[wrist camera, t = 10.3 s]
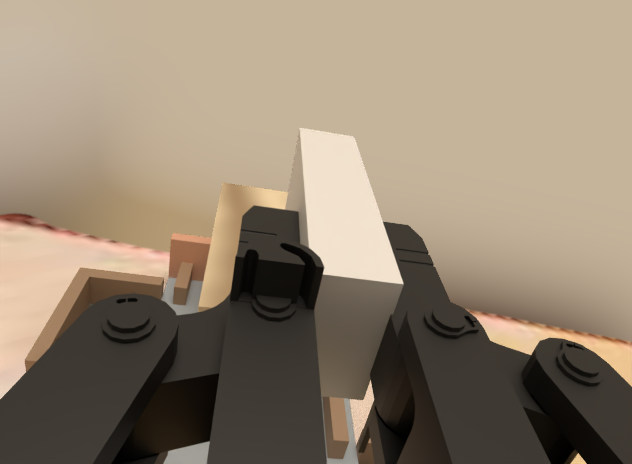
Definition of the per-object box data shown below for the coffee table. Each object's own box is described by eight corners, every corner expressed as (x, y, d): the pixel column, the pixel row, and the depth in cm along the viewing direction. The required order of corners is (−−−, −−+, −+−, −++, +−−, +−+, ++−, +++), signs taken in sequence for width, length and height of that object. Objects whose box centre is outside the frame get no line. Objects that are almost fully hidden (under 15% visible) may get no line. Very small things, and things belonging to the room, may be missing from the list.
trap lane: (396, 308, 48) (412, 265, 46) (544, 800, 21) (604, 763, 18) (95, 271, 44) (93, 221, 41) (-210, 828, 17) (-270, 783, 14)
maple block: (288, 292, 45) (309, 195, 40) (295, 435, 32) (327, 319, 27) (210, 283, 44) (222, 182, 39) (185, 428, 31) (198, 306, 26)
